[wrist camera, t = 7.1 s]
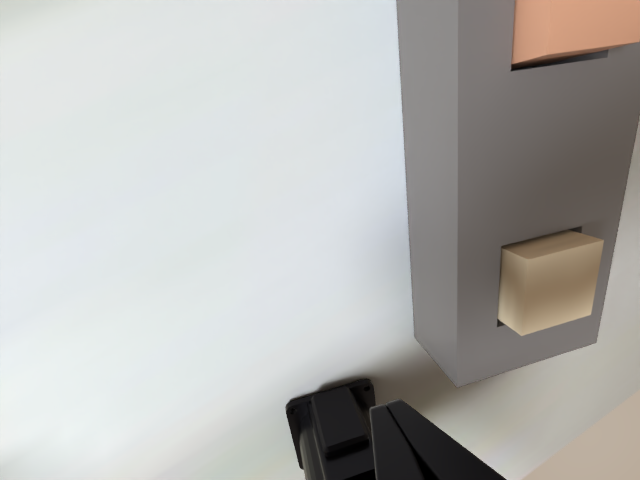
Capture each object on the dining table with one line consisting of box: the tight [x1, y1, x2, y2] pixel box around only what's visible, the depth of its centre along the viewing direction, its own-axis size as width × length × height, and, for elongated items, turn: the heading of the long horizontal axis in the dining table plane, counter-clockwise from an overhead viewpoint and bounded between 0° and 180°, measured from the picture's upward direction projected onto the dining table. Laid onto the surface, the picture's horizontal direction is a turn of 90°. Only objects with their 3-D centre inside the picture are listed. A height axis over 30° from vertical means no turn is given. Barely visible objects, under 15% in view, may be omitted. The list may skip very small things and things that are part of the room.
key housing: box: [396, 0, 640, 388], centre depth 17 cm, size 25×10×5 cm, turn 9°
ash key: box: [497, 230, 604, 336], centre depth 18 cm, size 4×4×4 cm
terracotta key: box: [511, 0, 640, 69], centre depth 13 cm, size 4×4×4 cm
